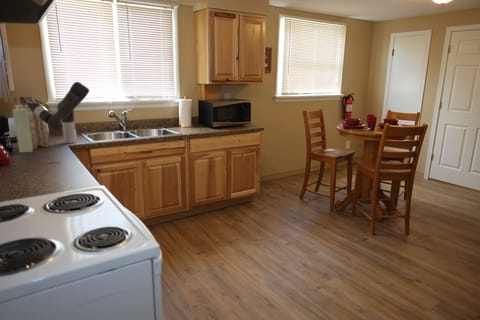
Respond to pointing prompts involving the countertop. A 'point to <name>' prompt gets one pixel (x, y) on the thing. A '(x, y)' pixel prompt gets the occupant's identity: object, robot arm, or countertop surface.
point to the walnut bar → (16, 99)
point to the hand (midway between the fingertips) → (24, 97)
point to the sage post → (23, 130)
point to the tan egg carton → (36, 128)
